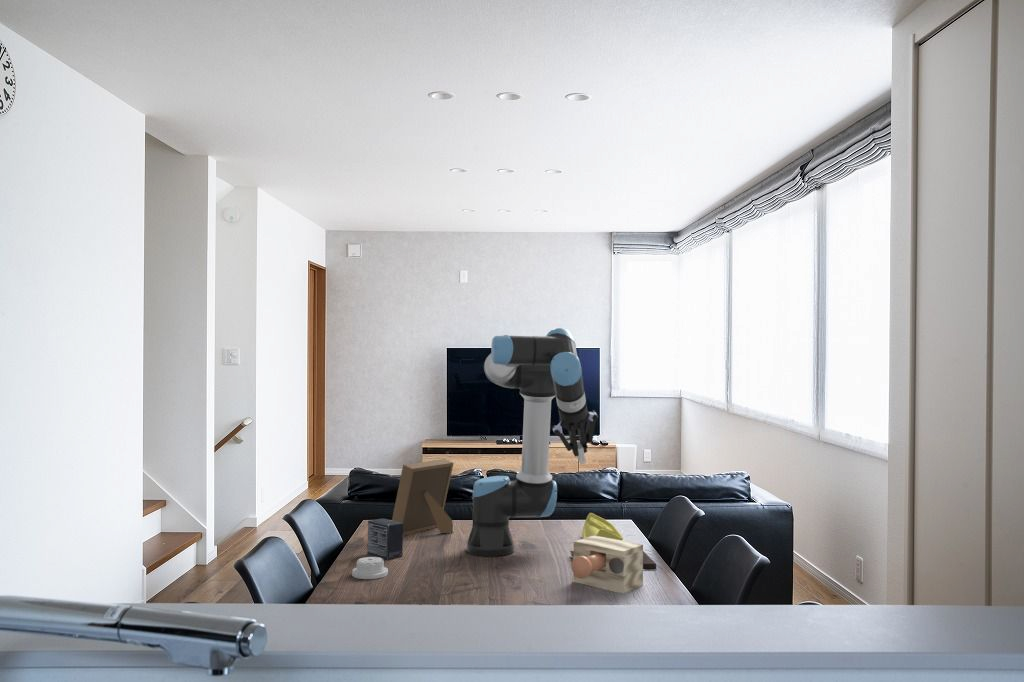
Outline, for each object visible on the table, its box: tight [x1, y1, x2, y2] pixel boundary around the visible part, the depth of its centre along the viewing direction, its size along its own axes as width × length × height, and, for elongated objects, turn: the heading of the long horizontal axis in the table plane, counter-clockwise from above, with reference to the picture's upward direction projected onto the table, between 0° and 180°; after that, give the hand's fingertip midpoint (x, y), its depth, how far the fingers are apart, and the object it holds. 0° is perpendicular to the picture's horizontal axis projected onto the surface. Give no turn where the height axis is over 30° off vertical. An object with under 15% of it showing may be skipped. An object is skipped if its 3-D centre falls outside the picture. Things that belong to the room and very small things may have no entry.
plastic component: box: [581, 512, 624, 541], centre depth 252 cm, size 20×7×10 cm
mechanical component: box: [351, 556, 389, 580], centre depth 207 cm, size 10×4×10 cm
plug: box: [570, 552, 606, 579], centre depth 195 cm, size 12×6×6 cm, turn 140°
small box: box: [366, 517, 404, 560], centre depth 228 cm, size 11×6×10 cm, turn 47°
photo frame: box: [391, 458, 454, 537], centre depth 259 cm, size 15×22×25 cm
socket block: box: [572, 535, 644, 595], centre depth 201 cm, size 11×16×11 cm
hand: (581, 460), depth 206 cm, fingers closed
